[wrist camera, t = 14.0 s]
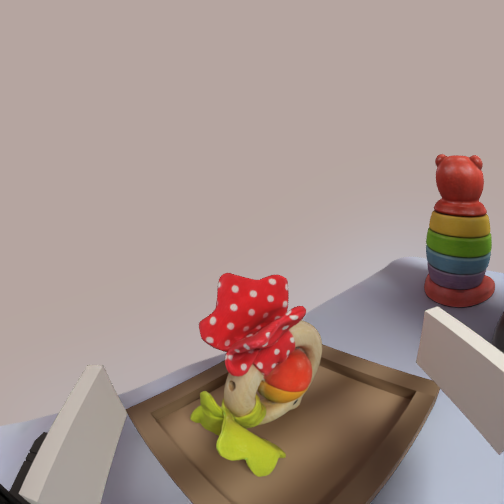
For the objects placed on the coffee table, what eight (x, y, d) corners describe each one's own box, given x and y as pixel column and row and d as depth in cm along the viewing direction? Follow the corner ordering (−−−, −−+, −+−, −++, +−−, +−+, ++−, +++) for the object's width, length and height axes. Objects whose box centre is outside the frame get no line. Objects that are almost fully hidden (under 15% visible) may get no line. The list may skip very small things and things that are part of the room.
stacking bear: (497, 288, 28) (502, 157, 23) (477, 318, 24) (486, 153, 19) (438, 272, 37) (437, 155, 33) (406, 294, 33) (404, 153, 28)
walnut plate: (434, 404, 15) (441, 383, 15) (283, 582, 5) (281, 579, 5) (281, 346, 27) (279, 328, 27) (136, 428, 17) (125, 409, 17)
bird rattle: (259, 407, 20) (160, 438, 14) (284, 272, 21) (178, 258, 14) (325, 440, 16) (230, 500, 10) (364, 286, 16) (274, 278, 10)
